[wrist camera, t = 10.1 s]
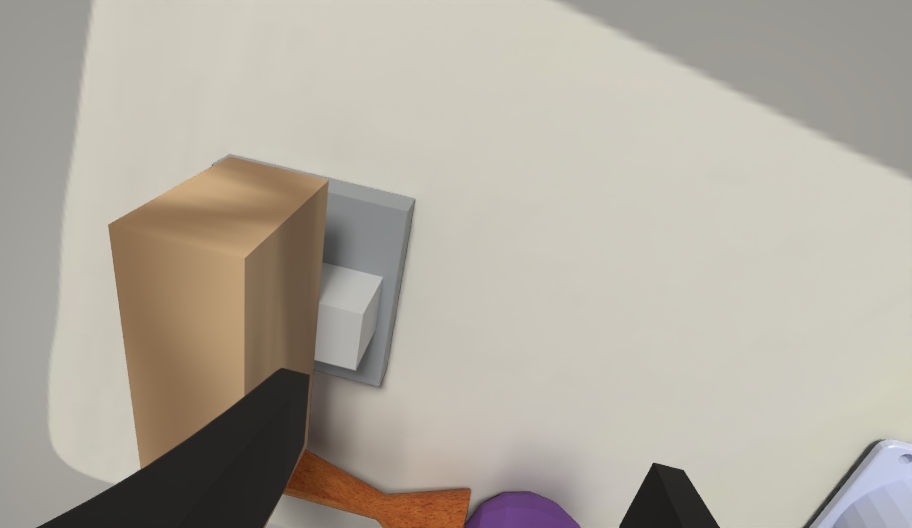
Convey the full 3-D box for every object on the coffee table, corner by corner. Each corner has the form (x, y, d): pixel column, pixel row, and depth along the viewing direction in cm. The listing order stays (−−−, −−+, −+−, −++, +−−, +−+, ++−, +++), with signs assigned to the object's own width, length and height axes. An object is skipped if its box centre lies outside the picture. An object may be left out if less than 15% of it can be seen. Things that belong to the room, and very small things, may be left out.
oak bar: (329, 180, 16) (244, 258, 11) (307, 445, 21) (244, 568, 17) (229, 156, 16) (108, 224, 11) (232, 425, 21) (150, 543, 17)
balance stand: (415, 198, 20) (389, 242, 16) (386, 368, 23) (360, 431, 20) (229, 154, 20) (167, 188, 17) (231, 329, 24) (181, 384, 20)
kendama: (136, 401, 21) (624, 603, 20) (223, 340, 27) (607, 493, 26) (116, 516, 23) (562, 706, 22) (202, 436, 29) (559, 583, 28)
